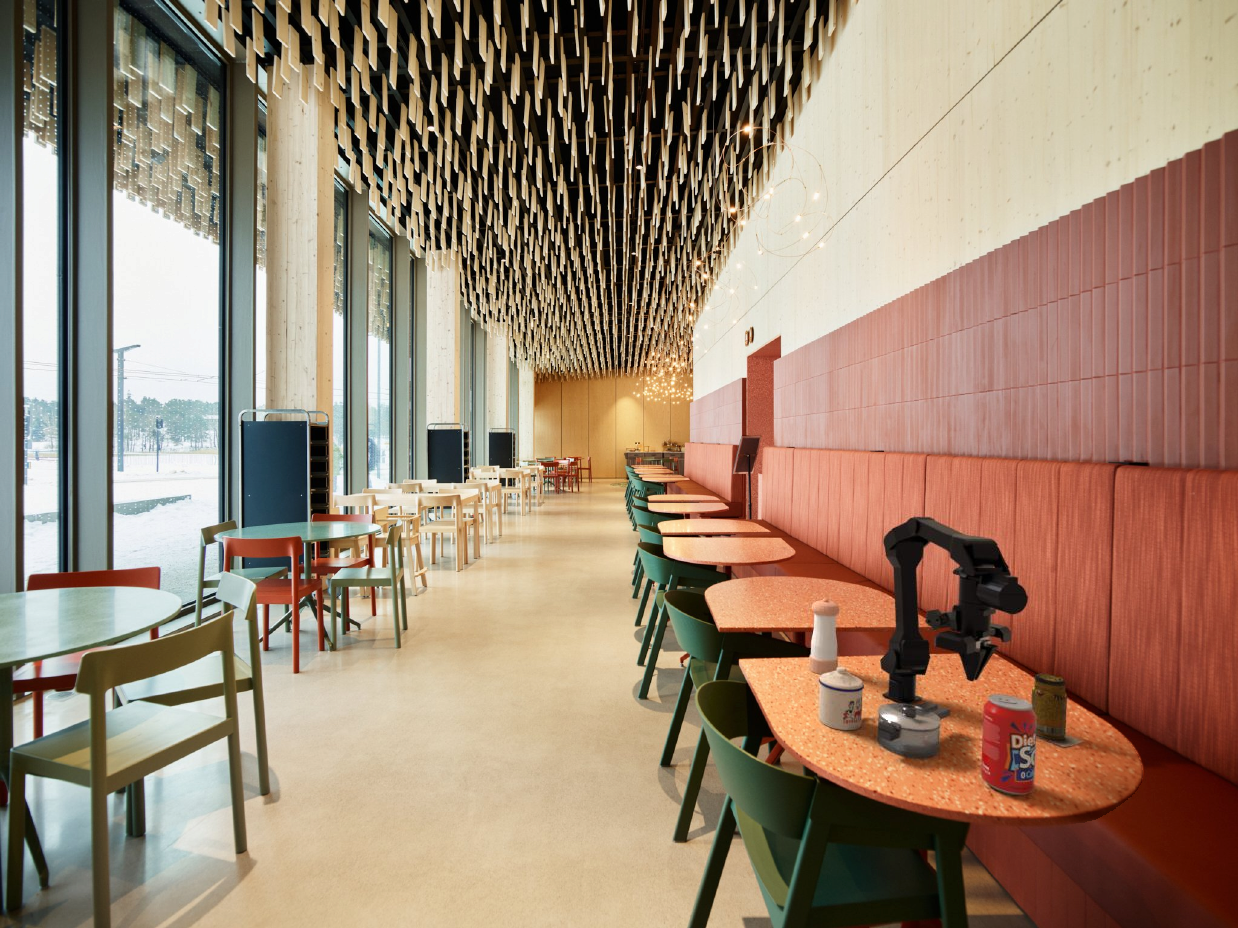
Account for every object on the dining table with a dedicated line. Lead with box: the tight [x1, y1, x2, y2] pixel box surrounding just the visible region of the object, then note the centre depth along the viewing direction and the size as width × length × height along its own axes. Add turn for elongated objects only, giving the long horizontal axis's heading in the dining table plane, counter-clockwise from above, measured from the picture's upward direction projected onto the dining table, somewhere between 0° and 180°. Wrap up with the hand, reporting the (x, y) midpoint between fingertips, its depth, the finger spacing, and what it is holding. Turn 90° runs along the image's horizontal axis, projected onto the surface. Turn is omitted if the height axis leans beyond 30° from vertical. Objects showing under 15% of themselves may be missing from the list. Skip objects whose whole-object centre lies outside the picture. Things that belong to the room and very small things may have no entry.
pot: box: [877, 704, 951, 760], centre depth 124 cm, size 22×11×6 cm, turn 125°
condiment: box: [1030, 673, 1085, 748], centre depth 129 cm, size 7×8×12 cm
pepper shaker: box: [808, 597, 840, 675], centre depth 165 cm, size 7×7×19 cm
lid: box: [877, 700, 942, 731], centre depth 124 cm, size 15×11×2 cm
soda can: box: [980, 693, 1037, 796], centre depth 108 cm, size 8×8×15 cm
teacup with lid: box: [818, 666, 865, 731], centre depth 134 cm, size 12×9×12 cm
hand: (972, 679), depth 123 cm, fingers closed
